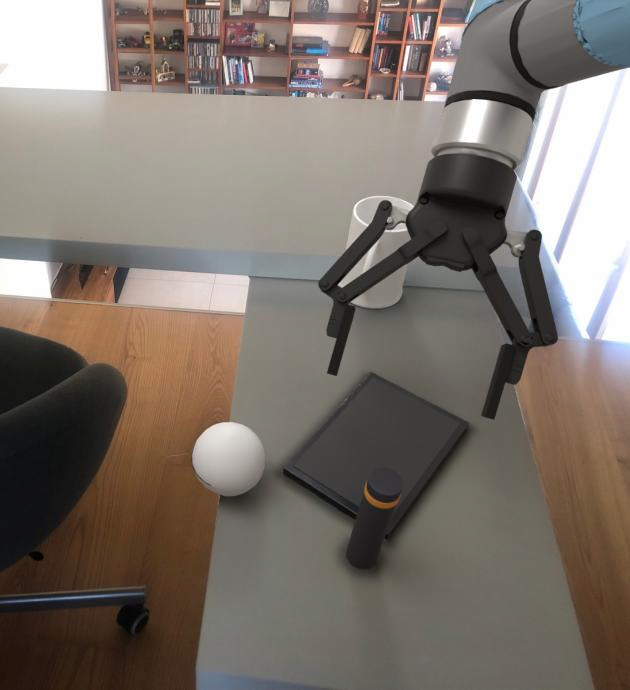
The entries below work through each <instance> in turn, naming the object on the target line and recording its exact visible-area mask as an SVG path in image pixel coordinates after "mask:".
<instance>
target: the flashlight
mask: <svg viewBox="0 0 630 690" xmlns="http://www.w3.org/2000/svg"><path fill="white" fill-rule="evenodd" d="M402 489H403V480H402V478H401V476H400V475H399V474H398V473H397V472H396V471H394V470H392V469H390V468H386V467H380V468H376V469H374V470H372V471H371V472H370V474H369V477H368V480H367V482H366V485H365V488H364V494H363V497H362V500H361V504H360V507H359V510H358V514H357V517H356V520H355V519H354V524H353V528H352V531H351V534H350V537H349V540H348V544H347V547H346V551H345V556H346V560H347V561H348V563H350V565H352V566H353V567H355V568H357V569H360V570H368V569H372V567H374V566H375V565H376V563H377V560H378V557H379V555H380V552H381V549H382V547H383V544H384V541H385V536H386V533H387V530H388V527H389V525H390V522H391V519H392V516H393V514H394V511H395V508H396V505H397V503H398V502H399V499H400V496H401V492H402Z"/></svg>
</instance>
